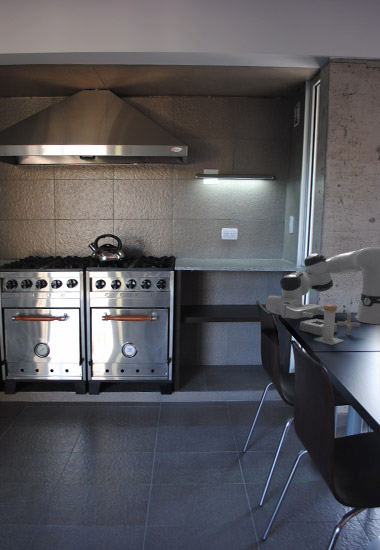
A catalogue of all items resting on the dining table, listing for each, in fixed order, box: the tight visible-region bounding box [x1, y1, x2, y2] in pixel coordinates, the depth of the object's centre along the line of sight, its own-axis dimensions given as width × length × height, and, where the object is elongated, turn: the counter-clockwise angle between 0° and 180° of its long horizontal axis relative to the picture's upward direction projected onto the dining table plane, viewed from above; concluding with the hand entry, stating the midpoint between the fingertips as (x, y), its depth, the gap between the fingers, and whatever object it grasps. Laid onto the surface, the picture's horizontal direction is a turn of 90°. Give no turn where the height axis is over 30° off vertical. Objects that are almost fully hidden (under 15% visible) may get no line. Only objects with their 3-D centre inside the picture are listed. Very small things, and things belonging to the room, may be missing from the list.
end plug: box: [321, 303, 338, 341], centre depth 195 cm, size 5×5×15 cm
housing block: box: [299, 318, 338, 337], centre depth 212 cm, size 12×12×4 cm
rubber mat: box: [313, 336, 345, 346], centre depth 196 cm, size 9×9×1 cm
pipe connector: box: [336, 312, 361, 336], centre depth 206 cm, size 10×10×10 cm
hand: (318, 314), depth 198 cm, fingers open, 8 cm apart
